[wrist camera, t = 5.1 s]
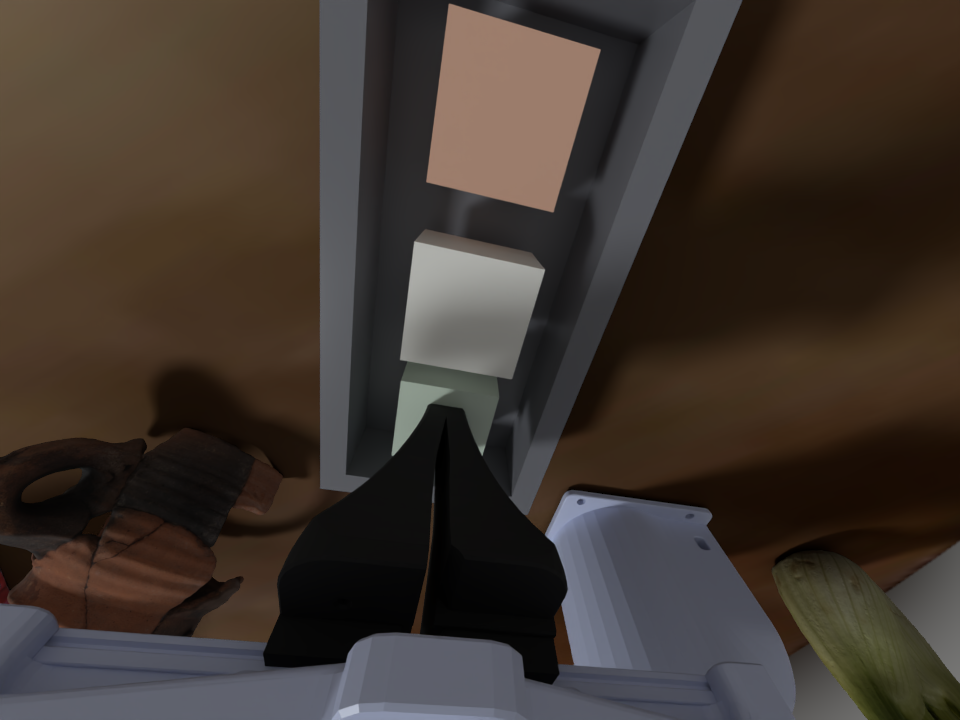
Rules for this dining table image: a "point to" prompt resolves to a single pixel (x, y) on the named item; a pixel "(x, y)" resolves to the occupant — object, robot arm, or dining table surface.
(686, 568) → the robot arm
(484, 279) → the key mid
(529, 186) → the key
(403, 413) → the key
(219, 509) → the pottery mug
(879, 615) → the fennel bulb
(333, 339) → the grey rectangular tray
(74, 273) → the dining table surface
